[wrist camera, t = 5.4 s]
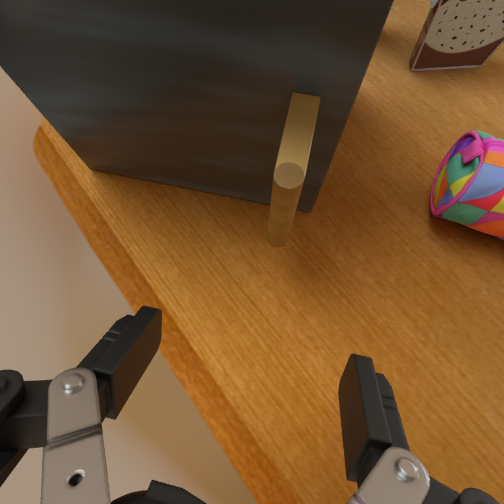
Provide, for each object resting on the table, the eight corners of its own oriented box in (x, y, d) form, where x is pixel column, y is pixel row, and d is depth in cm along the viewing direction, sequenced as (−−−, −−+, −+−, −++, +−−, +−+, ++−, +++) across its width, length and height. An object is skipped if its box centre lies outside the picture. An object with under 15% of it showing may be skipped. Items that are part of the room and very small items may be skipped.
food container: (478, 32, 43) (541, -59, 34) (492, 66, 41) (563, -21, 32) (389, 37, 43) (427, -53, 34) (399, 72, 41) (442, -14, 32)
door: (300, 272, 33) (401, 82, 10) (65, 222, 35) (-284, -29, 12) (312, 205, 35) (416, -69, 13) (92, 161, 37) (-156, -140, 15)
